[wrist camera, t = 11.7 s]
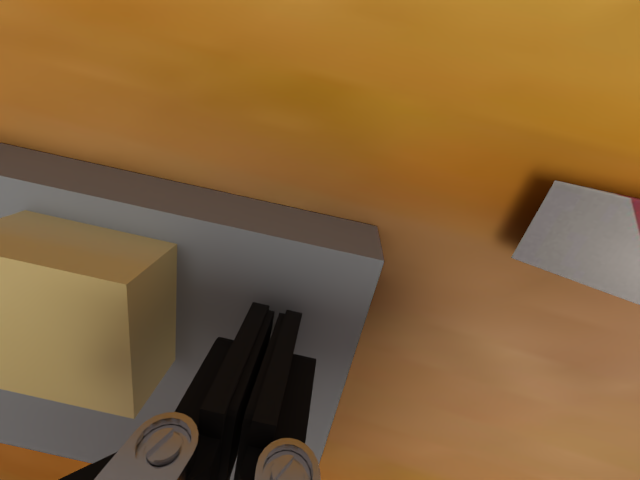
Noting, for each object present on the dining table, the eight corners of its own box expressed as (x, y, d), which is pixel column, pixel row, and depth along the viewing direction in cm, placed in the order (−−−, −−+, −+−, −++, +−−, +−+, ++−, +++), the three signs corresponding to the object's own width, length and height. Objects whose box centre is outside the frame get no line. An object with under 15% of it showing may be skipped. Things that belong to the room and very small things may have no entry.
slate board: (311, 449, 18) (303, 510, 15) (38, 388, 18) (-17, 438, 15) (376, 226, 12) (384, 260, 10) (-19, 138, 12) (-123, 148, 10)
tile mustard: (175, 359, 12) (134, 418, 10) (48, 331, 12) (-22, 383, 10) (177, 243, 10) (126, 284, 8) (25, 210, 10) (-70, 240, 8)
